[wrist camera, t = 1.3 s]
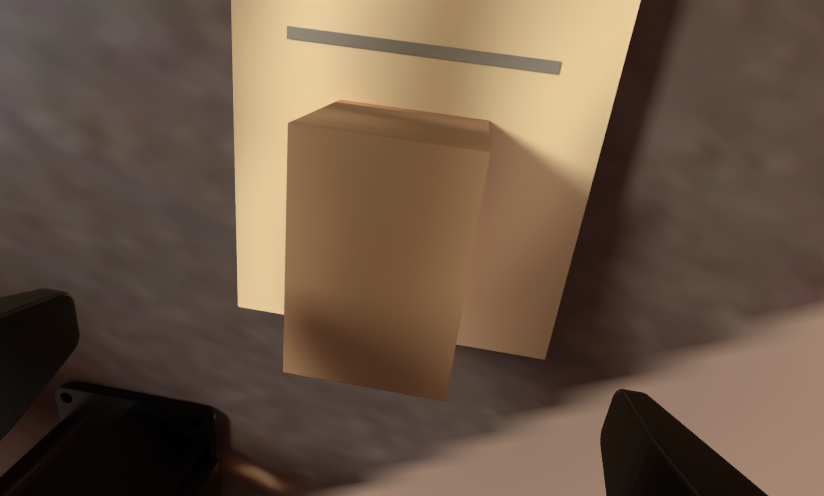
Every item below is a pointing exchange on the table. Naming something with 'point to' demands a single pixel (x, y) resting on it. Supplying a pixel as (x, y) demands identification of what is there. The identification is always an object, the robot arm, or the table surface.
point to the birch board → (445, 94)
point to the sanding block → (380, 243)
